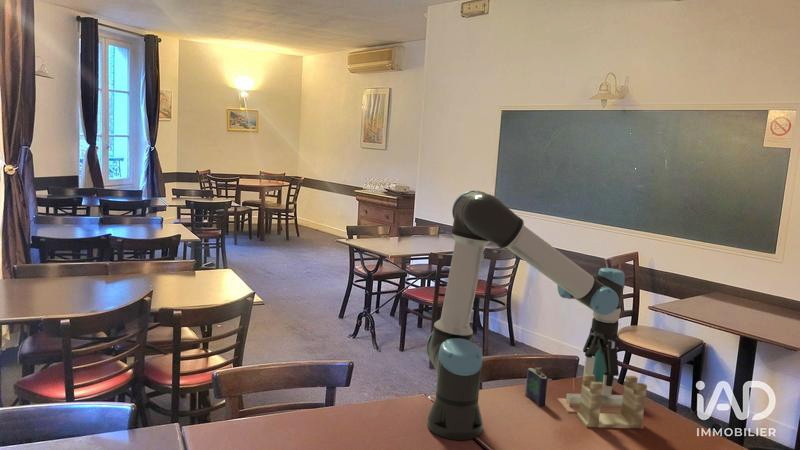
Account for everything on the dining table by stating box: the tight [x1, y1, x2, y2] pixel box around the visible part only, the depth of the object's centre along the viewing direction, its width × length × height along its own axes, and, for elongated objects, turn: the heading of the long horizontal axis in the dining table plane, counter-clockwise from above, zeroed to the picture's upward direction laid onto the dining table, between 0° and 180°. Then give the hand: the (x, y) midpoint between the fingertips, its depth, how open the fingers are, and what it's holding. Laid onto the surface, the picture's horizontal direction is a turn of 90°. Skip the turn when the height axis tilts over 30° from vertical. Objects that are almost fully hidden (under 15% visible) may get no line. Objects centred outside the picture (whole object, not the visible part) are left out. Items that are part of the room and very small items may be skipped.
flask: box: [524, 367, 548, 407], centre depth 180 cm, size 9×3×11 cm, turn 21°
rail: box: [565, 393, 623, 408], centre depth 179 cm, size 18×3×3 cm, turn 95°
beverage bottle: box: [593, 335, 614, 383], centre depth 193 cm, size 6×7×20 cm
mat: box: [557, 397, 621, 414], centre depth 179 cm, size 21×9×1 cm, turn 95°
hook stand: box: [576, 373, 648, 429], centre depth 168 cm, size 17×7×13 cm, turn 95°
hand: (596, 385), depth 178 cm, fingers open, 13 cm apart
